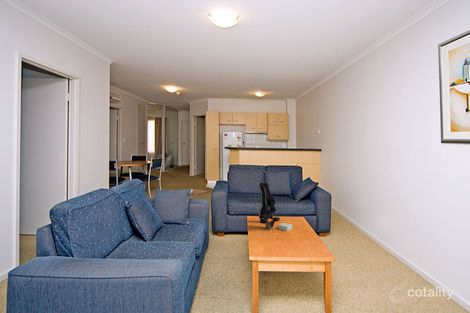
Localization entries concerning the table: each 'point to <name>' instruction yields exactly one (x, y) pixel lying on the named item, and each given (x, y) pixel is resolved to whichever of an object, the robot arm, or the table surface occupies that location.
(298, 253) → the table surface
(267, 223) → the walnut block
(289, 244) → the table surface
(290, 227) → the sage base block
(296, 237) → the table surface
